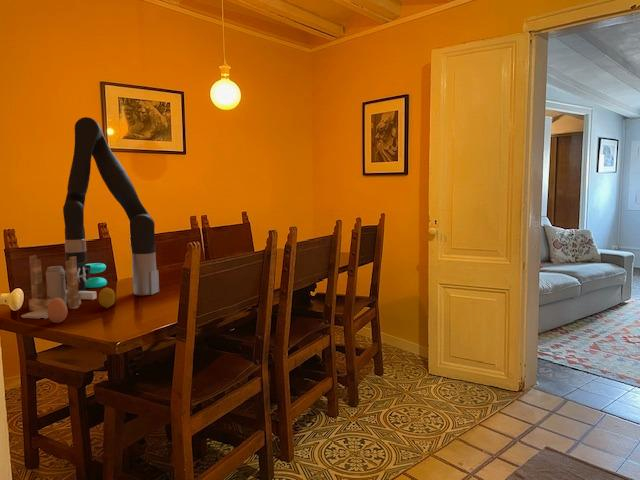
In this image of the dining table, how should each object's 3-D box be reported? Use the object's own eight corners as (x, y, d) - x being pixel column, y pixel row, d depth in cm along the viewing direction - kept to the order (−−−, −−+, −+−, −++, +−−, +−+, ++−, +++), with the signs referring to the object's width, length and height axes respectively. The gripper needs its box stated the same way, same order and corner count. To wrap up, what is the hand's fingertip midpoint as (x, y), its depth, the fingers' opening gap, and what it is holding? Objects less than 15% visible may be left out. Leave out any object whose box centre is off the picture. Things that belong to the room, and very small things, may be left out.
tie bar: (96, 298, 181) (96, 291, 181) (92, 300, 179) (92, 292, 178) (64, 297, 183) (64, 290, 183) (60, 298, 181) (59, 291, 180)
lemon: (119, 307, 167) (118, 286, 166) (107, 310, 162) (106, 289, 161) (107, 305, 169) (106, 284, 168) (95, 309, 163) (94, 287, 163)
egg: (61, 319, 151) (60, 294, 150) (71, 321, 148) (70, 297, 147) (44, 323, 146) (42, 298, 145) (54, 326, 143) (52, 300, 142)
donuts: (76, 266, 198) (90, 262, 208) (77, 288, 199) (91, 283, 209) (97, 266, 197) (110, 262, 207) (98, 288, 198) (111, 284, 208)
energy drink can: (50, 305, 169) (47, 266, 167) (68, 304, 171) (65, 265, 169) (46, 309, 163) (43, 268, 162) (65, 308, 165) (62, 267, 164)
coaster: (64, 311, 160) (63, 309, 160) (45, 318, 152) (45, 316, 151) (41, 310, 162) (41, 308, 162) (21, 317, 153) (21, 315, 153)
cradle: (87, 304, 171) (84, 254, 169) (66, 312, 160) (62, 259, 158) (46, 302, 174) (43, 253, 172) (23, 310, 162) (19, 258, 160)
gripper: (72, 253, 171) (74, 297, 173) (95, 248, 185) (98, 289, 187) (54, 252, 172) (57, 296, 174) (79, 248, 186) (81, 288, 188)
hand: (78, 292), depth 181 cm, fingers open, 4 cm apart
